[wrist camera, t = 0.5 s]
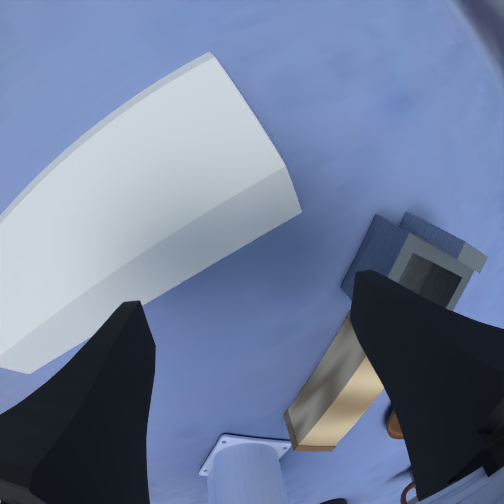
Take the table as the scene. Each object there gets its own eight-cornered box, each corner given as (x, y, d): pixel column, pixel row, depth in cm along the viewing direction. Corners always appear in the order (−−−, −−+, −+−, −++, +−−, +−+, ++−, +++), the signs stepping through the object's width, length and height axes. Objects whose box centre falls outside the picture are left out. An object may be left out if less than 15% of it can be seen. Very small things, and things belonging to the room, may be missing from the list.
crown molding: (208, 53, 16) (208, 36, 13) (301, 210, 21) (318, 225, 18) (-43, 276, 19) (-63, 293, 15) (34, 372, 23) (21, 395, 20)
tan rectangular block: (317, 418, 28) (330, 451, 24) (283, 415, 27) (293, 451, 23) (386, 318, 25) (413, 349, 20) (351, 308, 24) (376, 341, 19)
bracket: (410, 309, 25) (453, 353, 18) (340, 286, 23) (381, 338, 16) (447, 236, 23) (502, 267, 16) (382, 199, 21) (441, 226, 14)
